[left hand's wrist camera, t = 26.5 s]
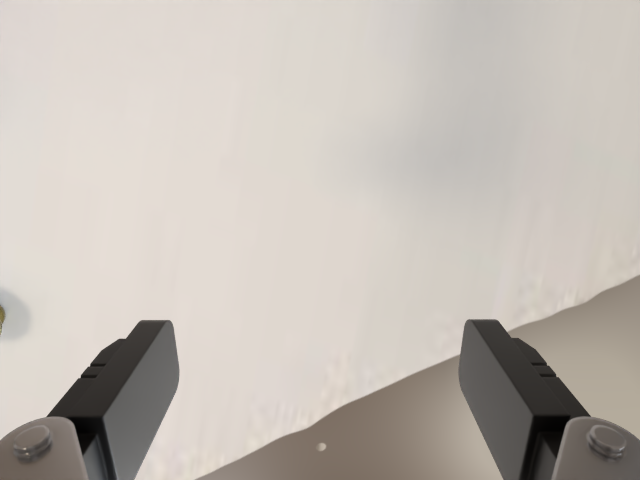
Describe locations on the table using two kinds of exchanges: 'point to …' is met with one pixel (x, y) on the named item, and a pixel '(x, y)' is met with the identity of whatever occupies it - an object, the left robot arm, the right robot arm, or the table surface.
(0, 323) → the cup
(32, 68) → the table surface
